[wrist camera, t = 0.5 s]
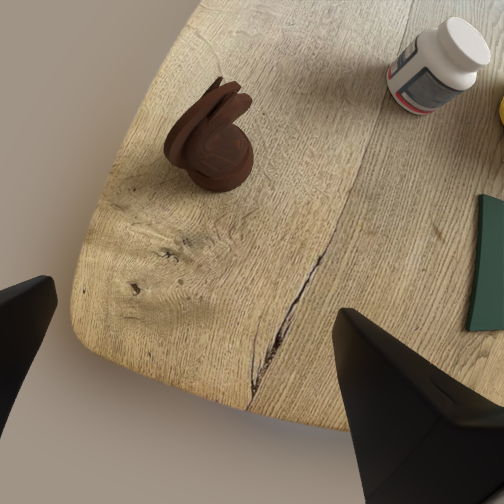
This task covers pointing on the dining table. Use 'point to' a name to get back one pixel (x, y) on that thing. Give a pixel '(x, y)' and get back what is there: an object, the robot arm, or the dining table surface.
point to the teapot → (502, 111)
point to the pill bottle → (437, 66)
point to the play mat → (488, 268)
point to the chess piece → (213, 139)
